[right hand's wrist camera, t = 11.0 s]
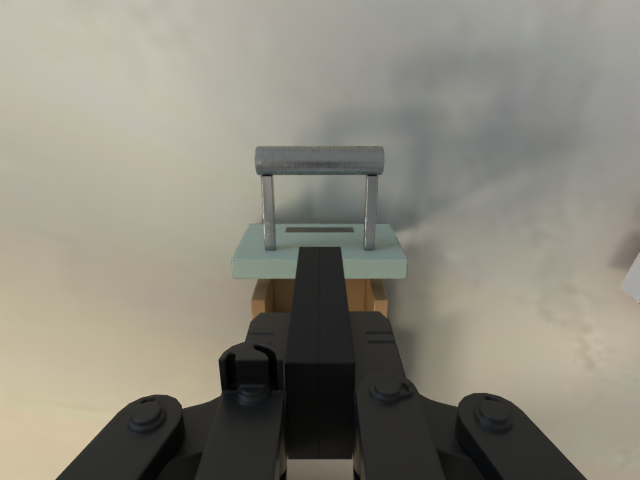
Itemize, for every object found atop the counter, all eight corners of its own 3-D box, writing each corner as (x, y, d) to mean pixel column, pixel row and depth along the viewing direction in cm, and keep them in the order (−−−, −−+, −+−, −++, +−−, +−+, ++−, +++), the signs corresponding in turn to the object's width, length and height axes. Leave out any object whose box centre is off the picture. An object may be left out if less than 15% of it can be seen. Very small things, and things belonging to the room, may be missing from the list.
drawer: (243, 136, 25) (221, 150, 20) (395, 136, 25) (417, 150, 20) (259, 382, 32) (246, 445, 27) (380, 382, 32) (392, 445, 27)
